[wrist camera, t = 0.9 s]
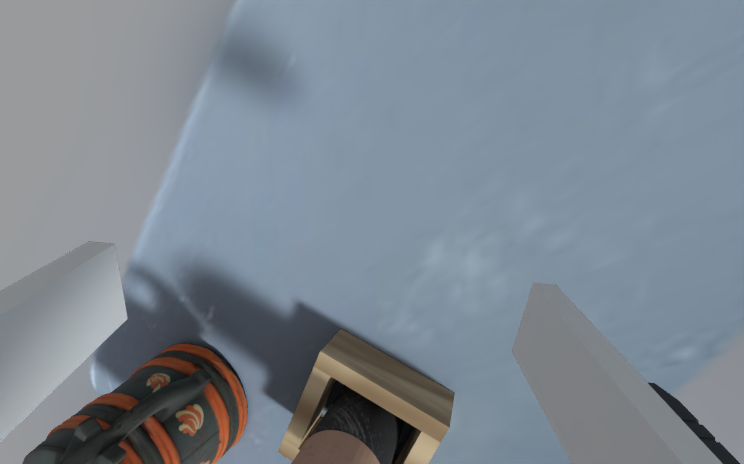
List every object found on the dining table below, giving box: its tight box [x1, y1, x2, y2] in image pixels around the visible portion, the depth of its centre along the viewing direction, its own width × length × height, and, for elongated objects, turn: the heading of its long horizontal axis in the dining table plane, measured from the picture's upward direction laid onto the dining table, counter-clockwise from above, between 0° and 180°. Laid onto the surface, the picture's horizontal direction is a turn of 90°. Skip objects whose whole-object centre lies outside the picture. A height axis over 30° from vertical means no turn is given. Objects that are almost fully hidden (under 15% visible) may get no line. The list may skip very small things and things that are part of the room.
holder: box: [278, 329, 455, 464], centre depth 37 cm, size 13×13×5 cm
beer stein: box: [23, 344, 248, 464], centre depth 36 cm, size 19×15×20 cm
